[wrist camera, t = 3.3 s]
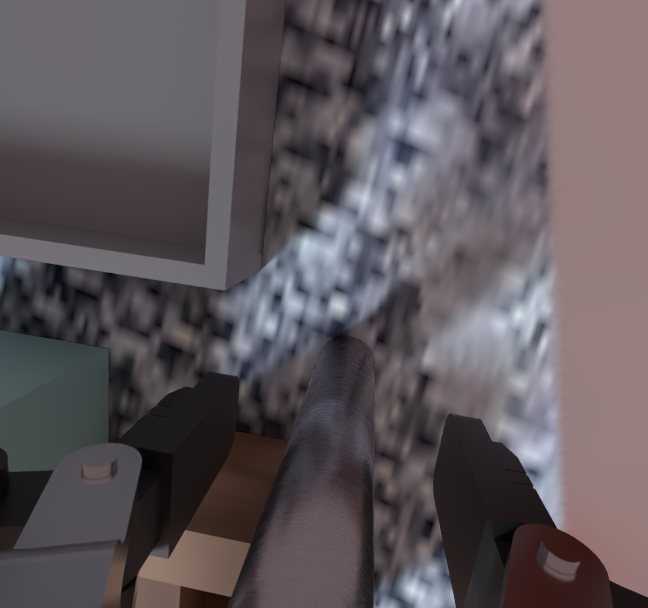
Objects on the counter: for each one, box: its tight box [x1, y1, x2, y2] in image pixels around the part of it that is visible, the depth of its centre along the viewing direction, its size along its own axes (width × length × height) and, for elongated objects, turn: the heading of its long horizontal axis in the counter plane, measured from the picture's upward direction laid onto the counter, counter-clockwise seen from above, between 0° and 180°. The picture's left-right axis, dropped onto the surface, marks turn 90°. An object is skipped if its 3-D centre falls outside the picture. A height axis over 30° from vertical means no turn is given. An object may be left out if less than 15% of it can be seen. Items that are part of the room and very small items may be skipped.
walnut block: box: [135, 431, 288, 608], centre depth 14 cm, size 7×7×5 cm
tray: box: [0, 0, 286, 291], centre depth 12 cm, size 13×13×4 cm
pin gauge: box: [227, 337, 375, 608], centre depth 9 cm, size 2×2×12 cm
